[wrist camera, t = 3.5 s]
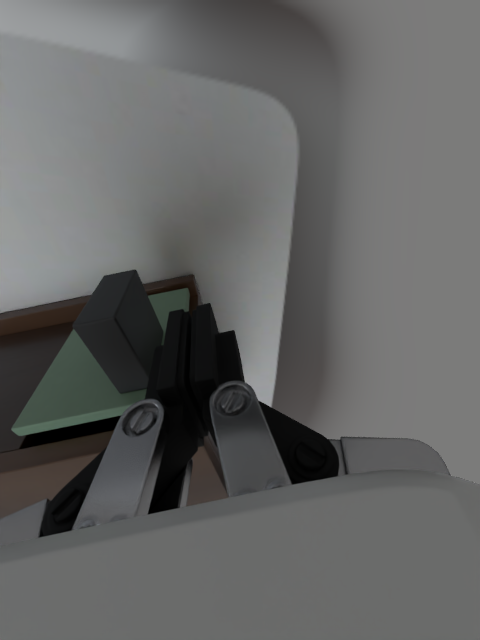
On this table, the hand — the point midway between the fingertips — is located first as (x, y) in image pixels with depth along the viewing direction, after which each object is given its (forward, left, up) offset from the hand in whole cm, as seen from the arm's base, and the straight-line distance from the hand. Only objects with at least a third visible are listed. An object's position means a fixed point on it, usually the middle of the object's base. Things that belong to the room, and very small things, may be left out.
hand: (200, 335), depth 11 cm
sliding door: (0, -5, -8) cm, 10 cm away
